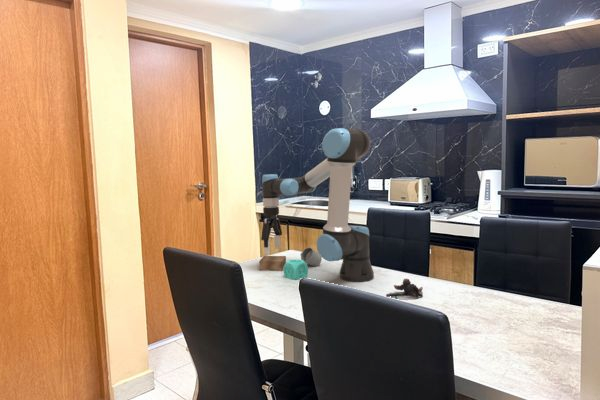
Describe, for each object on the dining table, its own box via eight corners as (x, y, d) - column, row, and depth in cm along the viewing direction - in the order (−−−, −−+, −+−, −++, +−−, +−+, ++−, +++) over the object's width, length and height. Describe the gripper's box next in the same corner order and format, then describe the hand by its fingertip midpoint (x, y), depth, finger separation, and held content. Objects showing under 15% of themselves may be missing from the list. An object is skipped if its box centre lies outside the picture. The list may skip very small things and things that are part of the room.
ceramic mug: (316, 270, 211) (325, 258, 210) (305, 264, 206) (314, 252, 205) (306, 259, 219) (315, 247, 219) (295, 253, 214) (305, 241, 214)
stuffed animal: (430, 289, 164) (415, 278, 157) (422, 313, 162) (407, 303, 154) (405, 283, 173) (389, 272, 166) (397, 306, 170) (381, 295, 163)
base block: (286, 267, 212) (285, 256, 212) (282, 273, 202) (282, 261, 201) (264, 267, 214) (263, 255, 213) (259, 273, 203) (259, 261, 202)
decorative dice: (296, 275, 197) (295, 258, 196) (308, 278, 191) (308, 261, 190) (283, 279, 191) (282, 261, 191) (295, 282, 186) (295, 264, 185)
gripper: (273, 203, 217) (275, 245, 219) (252, 209, 195) (254, 256, 197) (287, 204, 215) (288, 246, 217) (267, 209, 192) (269, 257, 194)
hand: (272, 251), depth 207 cm, fingers open, 12 cm apart
